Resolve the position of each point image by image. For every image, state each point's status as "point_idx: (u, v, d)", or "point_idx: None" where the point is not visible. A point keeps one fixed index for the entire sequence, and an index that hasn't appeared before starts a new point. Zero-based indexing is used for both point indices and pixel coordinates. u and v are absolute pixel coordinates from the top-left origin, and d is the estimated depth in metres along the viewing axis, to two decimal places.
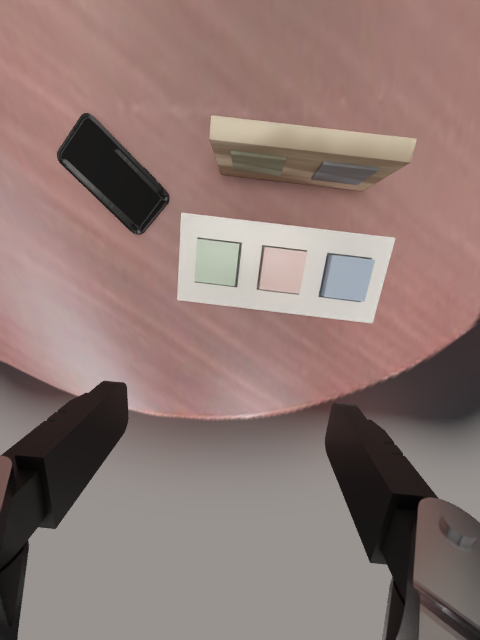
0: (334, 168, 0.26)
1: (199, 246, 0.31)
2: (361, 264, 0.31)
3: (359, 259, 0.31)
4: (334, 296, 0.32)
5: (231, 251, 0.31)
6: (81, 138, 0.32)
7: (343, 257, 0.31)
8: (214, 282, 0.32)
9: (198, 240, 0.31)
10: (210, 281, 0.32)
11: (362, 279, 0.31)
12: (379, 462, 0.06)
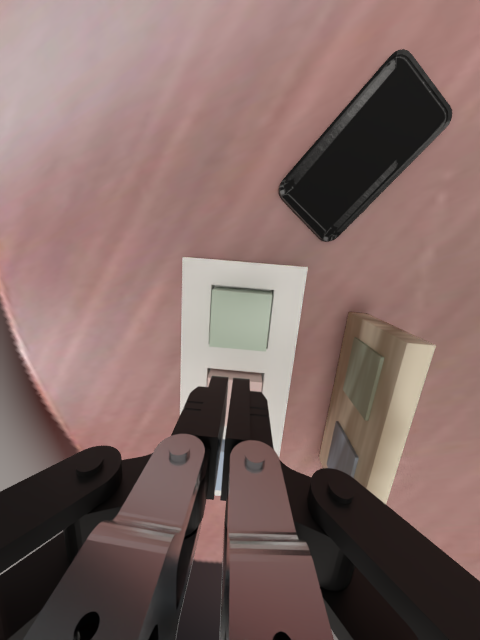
0: (348, 463, 0.23)
1: (261, 298, 0.22)
2: None
3: None
4: None
5: (255, 342, 0.23)
6: (420, 102, 0.21)
7: None
8: (212, 319, 0.22)
9: (270, 296, 0.22)
10: (213, 313, 0.22)
11: None
12: (233, 418, 0.07)
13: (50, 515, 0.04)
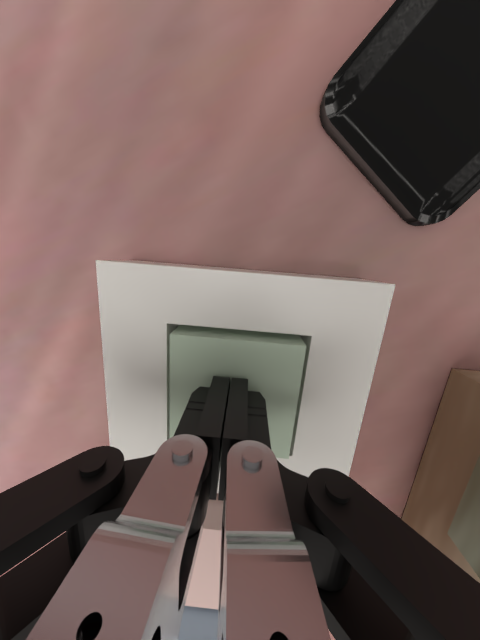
0: None
1: (282, 352, 0.10)
2: None
3: None
4: None
5: None
6: None
7: None
8: (173, 394, 0.10)
9: (301, 350, 0.09)
10: (175, 383, 0.10)
11: None
12: (231, 418, 0.07)
13: (53, 516, 0.04)
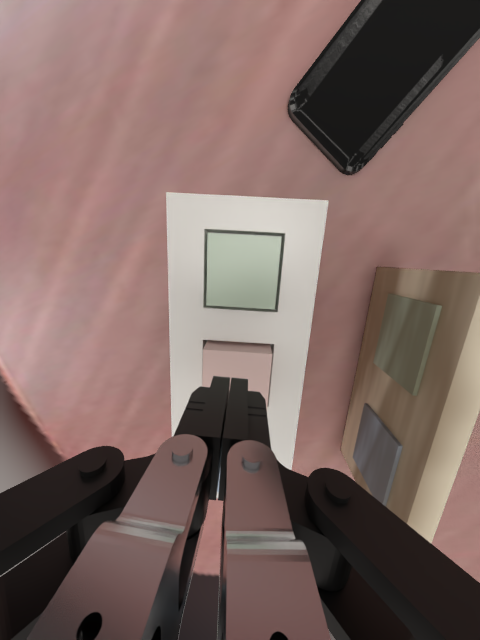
0: (387, 454, 0.17)
1: (268, 241, 0.18)
2: None
3: None
4: None
5: (262, 297, 0.19)
6: None
7: None
8: (209, 270, 0.18)
9: (279, 239, 0.18)
10: (210, 262, 0.18)
11: None
12: (231, 418, 0.07)
13: (53, 516, 0.04)
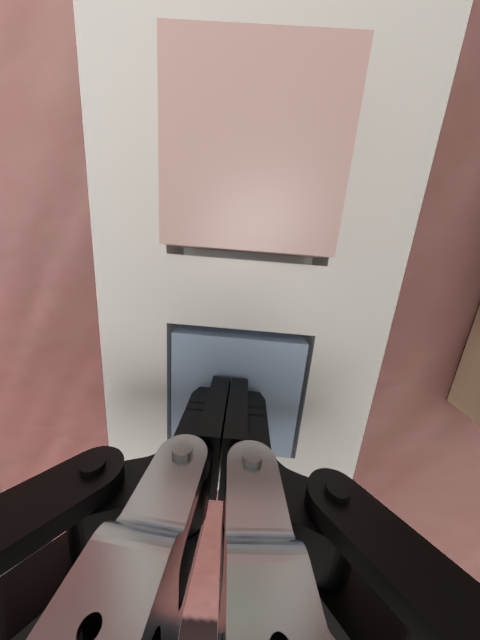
0: None
1: None
2: (277, 426, 0.10)
3: (292, 420, 0.10)
4: (176, 364, 0.10)
5: None
6: None
7: (299, 376, 0.10)
8: None
9: None
10: None
11: None
12: (230, 418, 0.07)
13: (53, 515, 0.04)
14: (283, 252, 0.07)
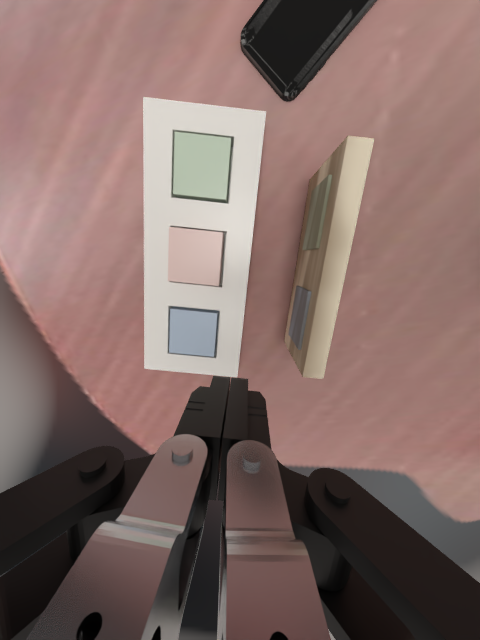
0: (303, 305, 0.23)
1: (221, 141, 0.23)
2: (208, 344, 0.29)
3: (213, 341, 0.29)
4: (171, 320, 0.28)
5: (216, 189, 0.24)
6: None
7: (215, 325, 0.28)
8: (175, 163, 0.24)
9: (229, 140, 0.23)
10: (176, 157, 0.24)
11: (192, 347, 0.29)
12: (230, 418, 0.07)
13: (53, 516, 0.04)
14: (204, 284, 0.26)
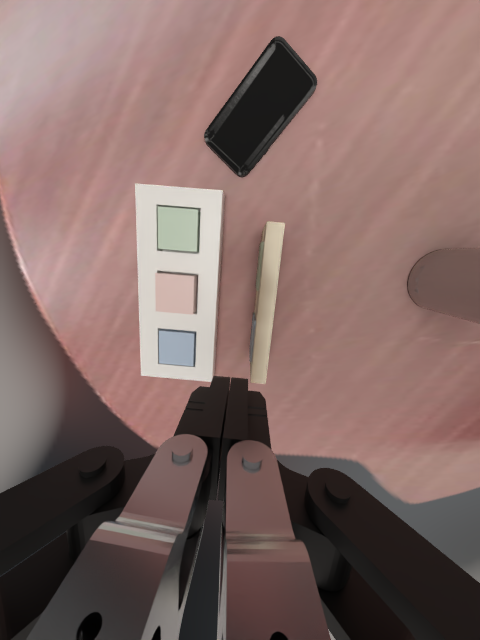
0: (252, 329, 0.32)
1: (191, 212, 0.32)
2: (188, 356, 0.38)
3: (192, 354, 0.38)
4: (160, 339, 0.37)
5: (189, 244, 0.33)
6: (294, 73, 0.30)
7: (192, 342, 0.37)
8: (159, 227, 0.33)
9: (196, 211, 0.32)
10: (159, 223, 0.33)
11: (176, 359, 0.38)
12: (230, 418, 0.07)
13: (53, 516, 0.04)
14: (182, 313, 0.35)
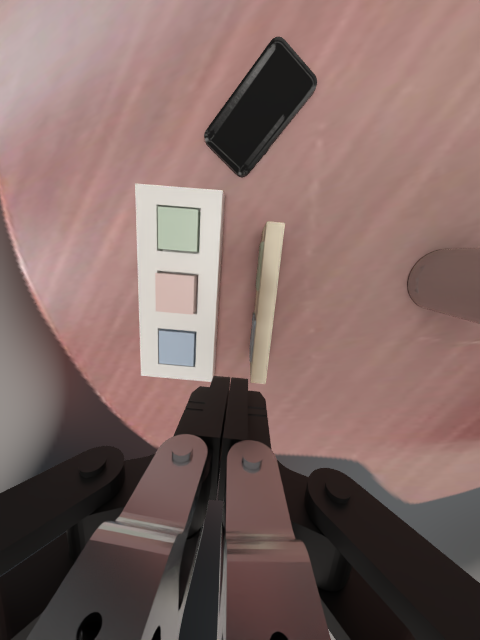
0: (252, 329, 0.32)
1: (191, 212, 0.32)
2: (188, 356, 0.38)
3: (192, 354, 0.38)
4: (160, 339, 0.37)
5: (189, 244, 0.33)
6: (294, 73, 0.30)
7: (192, 342, 0.37)
8: (159, 227, 0.33)
9: (196, 211, 0.32)
10: (159, 223, 0.33)
11: (176, 359, 0.38)
12: (230, 418, 0.07)
13: (53, 516, 0.04)
14: (182, 313, 0.35)
